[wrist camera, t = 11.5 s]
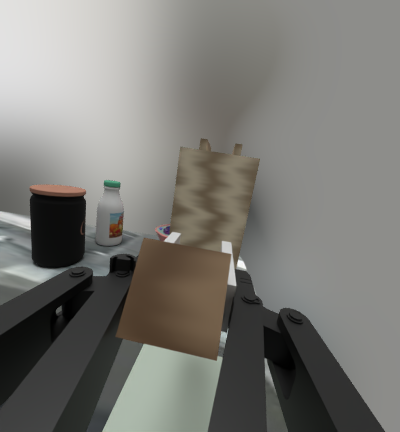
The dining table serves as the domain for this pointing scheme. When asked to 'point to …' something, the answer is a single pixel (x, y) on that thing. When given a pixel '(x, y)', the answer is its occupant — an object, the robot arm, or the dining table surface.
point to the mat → (166, 393)
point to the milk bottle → (110, 215)
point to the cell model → (163, 231)
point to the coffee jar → (57, 225)
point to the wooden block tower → (212, 197)
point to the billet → (177, 298)
